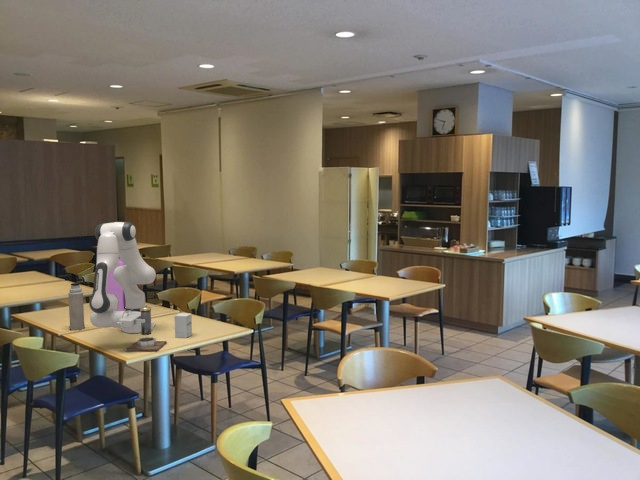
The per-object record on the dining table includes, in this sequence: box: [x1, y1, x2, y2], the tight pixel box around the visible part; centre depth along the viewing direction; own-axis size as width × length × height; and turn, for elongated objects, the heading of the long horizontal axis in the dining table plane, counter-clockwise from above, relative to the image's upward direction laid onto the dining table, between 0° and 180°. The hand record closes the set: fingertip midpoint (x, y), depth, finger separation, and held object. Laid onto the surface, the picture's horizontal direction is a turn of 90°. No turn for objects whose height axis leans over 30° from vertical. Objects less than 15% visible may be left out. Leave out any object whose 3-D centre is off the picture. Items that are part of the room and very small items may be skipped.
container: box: [106, 258, 127, 311], centre depth 382 cm, size 14×14×35 cm
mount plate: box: [125, 340, 168, 353], centre depth 290 cm, size 16×16×1 cm
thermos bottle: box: [67, 282, 85, 331], centre depth 328 cm, size 8×8×28 cm
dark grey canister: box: [140, 306, 152, 336], centre depth 289 cm, size 6×6×14 cm
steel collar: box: [136, 336, 157, 347], centre depth 290 cm, size 9×9×3 cm
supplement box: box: [174, 312, 193, 339], centre depth 312 cm, size 7×7×13 cm
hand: (147, 319), depth 289 cm, fingers closed on dark grey canister, 5 cm apart
